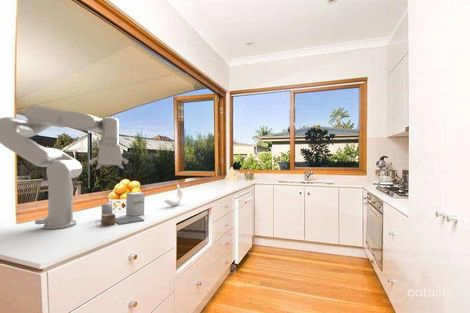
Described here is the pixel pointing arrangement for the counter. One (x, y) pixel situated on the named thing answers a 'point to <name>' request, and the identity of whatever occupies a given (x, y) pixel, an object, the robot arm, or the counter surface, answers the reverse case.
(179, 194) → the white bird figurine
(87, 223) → the counter surface
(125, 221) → the charcoal mat
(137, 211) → the supplement box
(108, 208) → the grey canister
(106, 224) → the walnut block
